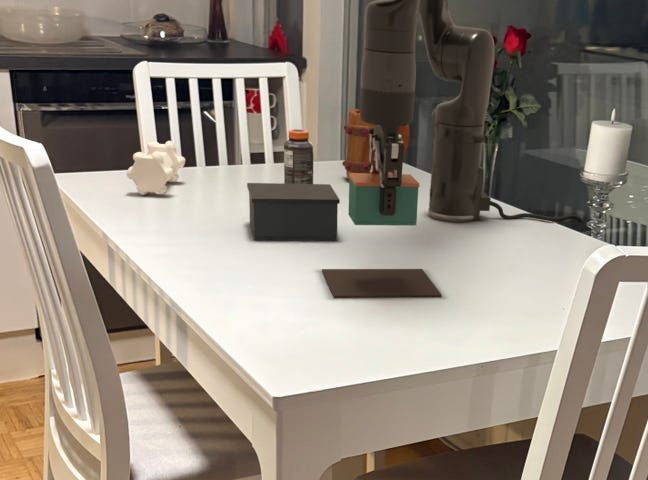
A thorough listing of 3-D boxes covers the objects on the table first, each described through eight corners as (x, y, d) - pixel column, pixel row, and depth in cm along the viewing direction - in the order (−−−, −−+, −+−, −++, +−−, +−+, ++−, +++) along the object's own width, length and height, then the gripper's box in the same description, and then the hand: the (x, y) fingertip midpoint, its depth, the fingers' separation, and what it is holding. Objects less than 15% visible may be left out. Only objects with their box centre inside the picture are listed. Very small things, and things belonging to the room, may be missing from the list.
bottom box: (329, 223, 176) (330, 184, 173) (338, 240, 167) (339, 199, 163) (248, 222, 173) (247, 182, 170) (252, 240, 163) (251, 198, 160)
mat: (422, 271, 154) (422, 268, 154) (441, 297, 143) (441, 294, 143) (321, 271, 150) (321, 269, 150) (333, 298, 139) (333, 295, 139)
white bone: (172, 198, 185) (169, 154, 181) (126, 195, 185) (122, 151, 181) (187, 181, 198) (185, 140, 194) (144, 179, 198) (141, 137, 194)
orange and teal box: (408, 215, 146) (410, 174, 143) (417, 225, 141) (419, 183, 138) (347, 214, 144) (348, 172, 141) (354, 225, 138) (355, 182, 136)
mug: (335, 180, 209) (336, 106, 202) (349, 174, 216) (351, 102, 208) (399, 189, 205) (402, 114, 198) (411, 182, 212) (415, 110, 205)
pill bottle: (315, 185, 203) (316, 129, 198) (310, 191, 198) (310, 133, 192) (287, 183, 203) (287, 126, 198) (281, 189, 198) (280, 131, 193)
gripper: (426, 94, 128) (418, 222, 136) (404, 80, 140) (398, 198, 148) (370, 92, 126) (365, 221, 134) (352, 78, 139) (349, 197, 147)
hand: (382, 208), depth 141 cm, fingers closed on orange and teal box, 6 cm apart
